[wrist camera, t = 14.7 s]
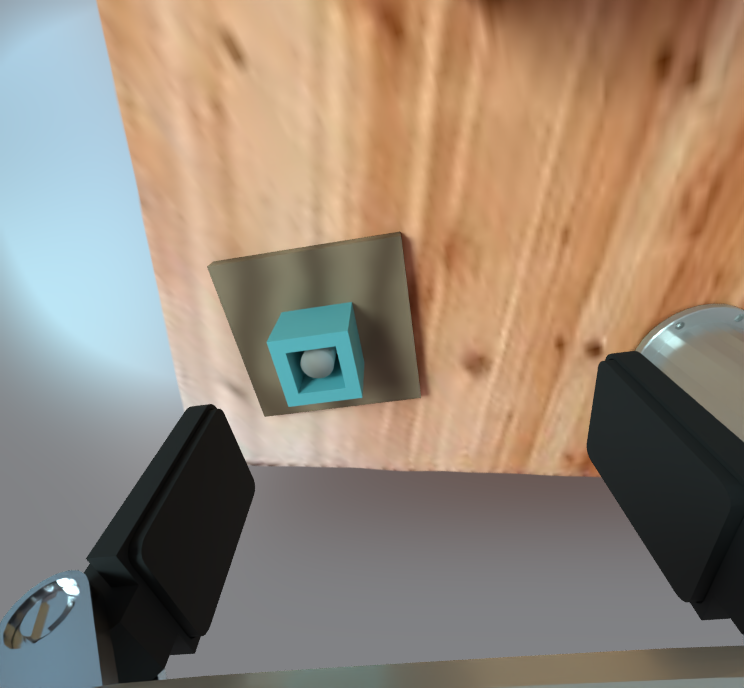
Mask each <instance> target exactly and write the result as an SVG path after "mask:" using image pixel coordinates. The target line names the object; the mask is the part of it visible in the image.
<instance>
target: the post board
mask: <svg viewBox="0 0 744 688" xmlns="http://www.w3.org/2000/svg"><path fill="white" fill-rule="evenodd" d="M207 268H208V270H209V273H210V275H211V278H212V281H213V283H214V286H215V289H216V291H217V294H218V296H219V299H220V302H221V304H222V307H223V309H224V312H225V315H226V317H227V320H228V322H229V325H230V328H231V330H232V333H233V335H234V338H235V341H236V343H237V346H238V348H239V351H240V354H241V356H242V359H243V362H244V364H245V367H246V369H247V372H248V375H249V377H250V380H251V382H252V385H253V388H254V390H255V393H256V395H257V398H258V401H259V403H260V406H261V408H262V411H263V414H264V416H265V417H266V416H274V415H283V414H291V413H299V412H307V411H315V410H324V409H332V408H340V407H348V406H357V405H365V404H373V403H381V402H390V401H398V400H406V399H414V398H421V393H420V385H419V377H418V369H417V361H416V353H415V345H414V337H413V329H412V320H411V312H410V304H409V296H408V288H407V280H406V272H405V264H404V256H403V248H402V240H401V234H400V232H395V233H389V234H383V235H376V236H370V237H364V238H358V239H351V240H345V241H339V242H333V243H327V244H320V245H314V246H308V247H302V248H295V249H289V250H283V251H277V252H271V253H264V254H258V255H252V256H246V257H239V258H233V259H227V260H221V261H214V262H212V263H211V264H210V265H209V266H207ZM348 302H352V305H353V310H354V314H355V319H356V324H357V329H358V334H359V339H360V344H361V349H362V353H363V358H364V379H363V398H356V399H348V400H340V401H332V402H324V403H316V404H308V405H300V406H292V407H288V404H287V401H286V398H285V395H284V392H283V389H282V386H281V383H280V380H279V377H278V375H277V372H276V369H275V366H274V363H273V360H272V357H271V354H270V351H269V348H268V345H267V340H268V338H269V336H270V334H271V332H272V330H273V328H274V326H275V325H276V323H277V321H278V319H279V317H280V315H281V313H282V312H287V311H294V310H301V309H307V308H314V307H321V306H328V305H334V304H341V303H348ZM336 356H338V354H337V350H336V346H334V347H327V348H320V349H312V350H305V351H304V352H303V355H302V358H301V368H302V370H303V372H304V373H305V374H307V375H308V376H310V377H312V378H324V377H327V376H328V375H330V374H331V372H332V371H333V368H334V362H335V357H336Z"/></svg>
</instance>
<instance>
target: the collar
mask: <svg viewBox="0 0 744 688" xmlns="http://www.w3.org/2000/svg"><path fill="white" fill-rule="evenodd" d="M267 345H268V348H269V351H270V354H271V357H272V360H273V363H274V366H275V369H276V372H277V375H278V377H279V380H280V383H281V386H282V389H283V392H284V395H285V398H286V401H287V404H288V407H292V406H300V405H308V404H316V403H324V402H332V401H340V400H348V399H356V398H363V379H364V358H363V353H362V349H361V344H360V339H359V334H358V329H357V324H356V319H355V314H354V310H353V305H352V302H348V303H341V304H334V305H328V306H321V307H314V308H307V309H301V310H294V311H287V312H282V313H281V315H280V317H279V319H278V321H277V323H276V325H275V326H274V328H273V330H272V332H271V334H270V336H269V338H268V340H267ZM334 346H336V350H337V354H338V356H336V357H335V362H334V368H333V371H332V372H331V374H330V375H328V376H327V377H324V378H312V377H310V376H308V375H307V374H305V373H304V372H303V370H302V368H301V358H302V355H303V352H304V351H305V350H312V349H320V348H327V347H334Z"/></svg>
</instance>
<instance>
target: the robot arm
mask: <svg viewBox="0 0 744 688" xmlns="http://www.w3.org/2000/svg"><path fill="white" fill-rule="evenodd" d="M587 452H588V455H589V458H590V459H591V461H592V463H593V464H594V466H595V468H596V469H597V471H598V472H599V474H600V475H601V477H602V478H603V480H604V482H605V483H606V485H607V486H608V488H609V489H610V491H611V492H612V494H613V496H614V497H615V499H616V500H617V502H618V503H619V505H620V507H621V508H622V510H623V511H624V513H625V514H626V516H627V518H628V519H629V521H630V522H631V524H632V525H633V527H634V529H635V530H636V532H637V533H638V535H639V536H640V538H641V540H642V541H643V543H644V544H645V546H646V547H647V549H648V550H649V552H650V554H651V555H652V557H653V558H654V560H655V561H656V563H657V565H658V566H659V568H660V569H661V571H662V572H663V574H664V576H665V577H666V579H667V580H668V582H669V583H670V585H671V586H672V588H673V590H674V591H675V593H676V594H677V595H678V597H680V599H681V600H683V601H684V602H690V603H691V605H692V606H693V608H694V609H695V611H696V612H697V614H698V615H699V617H700V619H701V620H713V619H728V618H731V619H732V621H733V622H734V624H735V625H736V626H737V628H738V629H739V631H740V632H741V633H742V634H743V641H742V646H724V647H723V646H722V647H696V648H669V649H668V648H667V649H650V650H631V651H612V652H594V653H575V654H557V655H539V656H521V657H503V658H486V659H469V660H453V661H437V662H420V663H404V664H386V665H370V666H354V667H337V668H322V669H306V670H292V671H276V672H261V673H245V674H231V675H216V676H201V677H189V678H179V679H167V677H166V672H165V666H166V663H167V661H168V658H169V655H180V654H194V653H195V652H196V649H197V645H198V642H199V640H200V637H201V636H204V635H205V634H206V633H207V631H208V630H209V627H210V625H211V622H212V619H213V616H214V613H215V610H216V607H217V604H218V601H219V598H220V595H221V592H222V589H223V586H224V583H225V580H226V577H227V574H228V571H229V568H230V565H231V562H232V559H233V556H234V553H235V550H236V547H237V544H238V541H239V538H240V535H241V532H242V529H243V526H244V523H245V520H246V517H247V514H248V511H249V508H250V505H251V502H252V499H253V496H254V492H255V483H254V479H253V477H252V475H251V472H250V470H249V468H248V466H247V463H246V461H245V459H244V457H243V455H242V452H241V450H240V448H239V446H238V443H237V441H236V439H235V437H234V434H233V432H232V430H231V428H230V425H229V423H228V421H227V419H226V417H225V414H224V412H223V411H222V410H221V409H217V408H216V407H215V406H214V405H212V404H208V405H200V406H192V407H189V408H188V409H187V410H186V411H185V412H184V414H183V415H182V417H181V418H180V420H179V421H178V423H177V424H176V426H175V427H174V429H173V430H172V432H171V433H170V435H169V436H168V438H167V439H166V441H165V442H164V443H163V445H162V447H161V448H160V450H159V451H158V453H157V454H156V455H155V457H154V458H153V460H152V461H151V463H150V464H149V466H148V467H147V469H146V471H145V472H144V473H143V475H142V476H141V478H140V479H139V481H138V482H137V484H136V485H135V487H134V488H133V490H132V491H131V493H130V494H129V496H128V497H127V498H126V500H125V501H124V503H123V505H122V506H121V507H120V509H119V510H118V512H117V513H116V515H115V516H114V518H113V519H112V521H111V522H110V524H109V525H108V527H107V528H106V530H105V531H104V533H103V534H102V536H101V537H100V539H99V540H98V542H97V543H96V545H95V546H94V548H93V549H92V550H91V552H90V554H89V555H88V557H87V558H86V559H87V560H88V561H89V563H90V564H89V566H88V567H87V569H86V570H85V572H84V573H82V572H80V571H79V570H71V571H70V570H68V571H65V572H61V573H58V574H55V575H53V576H51V577H49V578H47V579H46V580H44V581H42V582H40V583H39V584H37V585H36V586H35V587H33V588H32V589H30V590H29V591H28V592H27V593H26V594H24V595H23V596H22V597H21V598H20V599H19V600H18V601H17V602H16V603H15V604H14V605H13V606H12V608H11V609H10V610H9V611H8V612H7V614H6V615H5V616H4V617H3V619H2V621H1V622H0V688H744V310H742V309H740V308H738V307H736V306H732V305H728V304H706V305H699V306H696V307H692V308H689V309H686V310H684V311H681V312H679V313H677V314H674V315H673V316H671V317H669V318H668V319H666V320H664V321H663V322H661V323H660V324H659V325H657V326H656V327H655V328H654V329H652V330H651V331H650V332H649V333H648V334H647V335H646V337H645V338H644V339H643V340H642V341H641V343H640V344H639V345H638V347H637V348H636V350H635V351H629V352H621V353H613V354H609V355H608V356H607V357H606V359H605V361H601V362H600V363H599V366H598V372H597V378H596V385H595V392H594V399H593V405H592V412H591V419H590V425H589V432H588V439H587Z"/></svg>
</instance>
